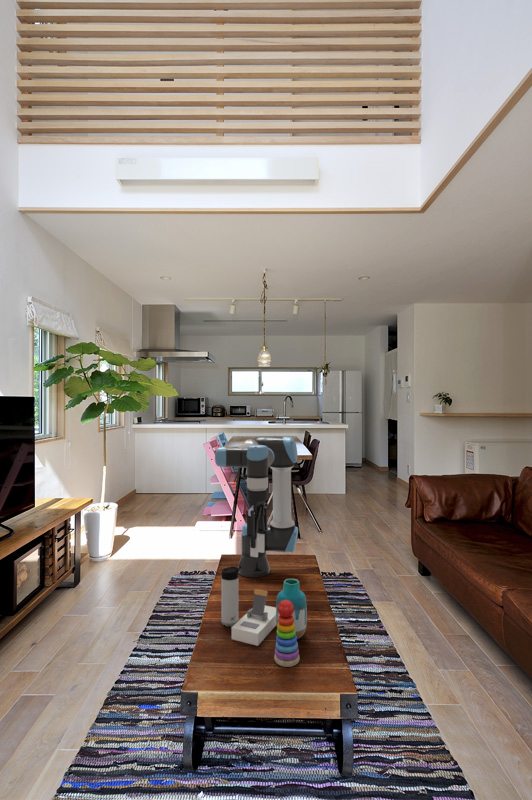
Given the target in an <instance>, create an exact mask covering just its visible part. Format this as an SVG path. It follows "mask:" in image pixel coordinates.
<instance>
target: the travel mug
mask: <svg viewBox="0 0 532 800" xmlns="http://www.w3.org/2000/svg"><path fill="white" fill-rule="evenodd" d="M238 571H239V568H238V566H229V567H225V568H223V569H222V570H221V576H220V577H221V578H220V579H221V580H220V581H221V584H220V585H221V594H220V595H221V597H220V598H221V601H220V602H221V603H220V604H221V607H220V608H221V611H220V612H221V615H220V617H221V625H223V626H224V625H225V627H229V626H230V627H233V626H234V625H235V624H236V623H237V622H238V621H239V578H240V577H239V573H238Z"/></svg>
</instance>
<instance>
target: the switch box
mask: <svg viewBox="0 0 532 800" xmlns="http://www.w3.org/2000/svg"><path fill="white" fill-rule="evenodd" d="M251 612H252V608H249V609H248V610H247V611H246V614H244V615H243V616H242V617H241V618H240V619H238V622H237V623H236V624H235V625H234V626H231V640H232V641H237V642H242V643H244V644H249V645H254V646H256V647H259V645H260V644H262V641H264V639H266V637H268V636H269V634H270V633H271V632H272V630H273V629H274V628H275V627H277V623H276V606H270V605H266V604H265V608H264V614H263V615H262V618H259V617H255V616H251Z"/></svg>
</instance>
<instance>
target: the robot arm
mask: <svg viewBox="0 0 532 800" xmlns="http://www.w3.org/2000/svg"><path fill="white" fill-rule="evenodd" d="M214 462H215V465H216V467H221V468H243V469H244V468H246V488H247V490H246V500H247V501H249V502H250V505H249V509H246V510H245V515H246V523H245V524H243V525H242V527H241V556H240V559H239V563H238V565H237V568H239V571H238V575H239V576H242V577H246V578H263V577H265V576H267V575H269V574H270V571H271V568H270V563H269V561H268V557H267V552H274V553H275V552H277V553H293V552H294V551H295V550H296V546H297V542H298V536H299V535H298V534H299V527H297V526H295V521H294V519H292V468H294V467H295V464H296V463H297V462H298V448H297V443H296V440H295V439H294V437H291V436H290V437H289V436H257V437H253V438H248V439H246V440H244V441H243V442H241V444H237V445H234V446H229V447H226V446H223V447H222V446H221V447H220V446H219V447H217V448H216V450H215V454H214ZM269 468H270V469H271V470H272V472H271V473H272V474H271V475H272V520H271V521H270V522H269V525H268V508H269V503H267V502H266V501H268V500H269V490H268V488H269Z"/></svg>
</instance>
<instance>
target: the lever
mask: <svg viewBox="0 0 532 800" xmlns="http://www.w3.org/2000/svg"><path fill="white" fill-rule="evenodd" d="M268 593H269V591H268V590H262V589H257V588H256V589H255V588H254V590H253V595H254V596H253V600H252V601H253V602H252V608H251V609H252V612H251V616H255V617H259V618H262V615H263V614H264V608H265V605H266V600H267V597H268Z"/></svg>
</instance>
